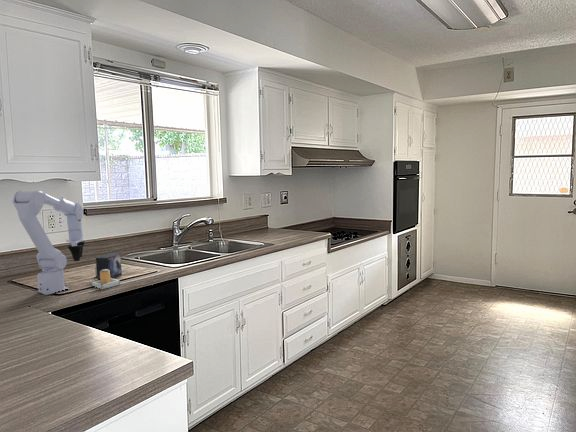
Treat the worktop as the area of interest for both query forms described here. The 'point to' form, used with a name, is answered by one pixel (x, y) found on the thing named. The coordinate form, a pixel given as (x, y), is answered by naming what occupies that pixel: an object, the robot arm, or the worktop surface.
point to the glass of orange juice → (105, 276)
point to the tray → (102, 286)
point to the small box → (109, 264)
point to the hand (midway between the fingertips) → (78, 259)
